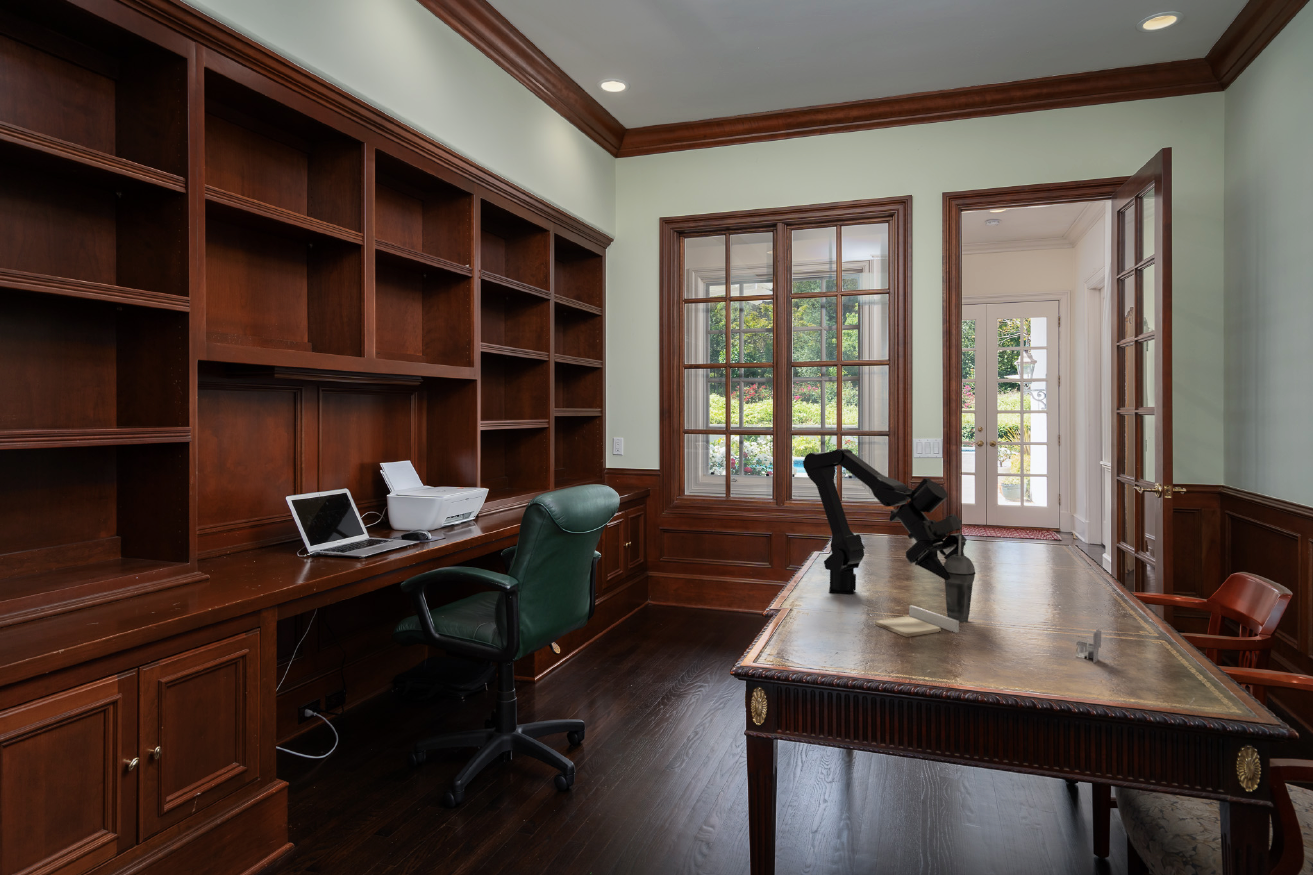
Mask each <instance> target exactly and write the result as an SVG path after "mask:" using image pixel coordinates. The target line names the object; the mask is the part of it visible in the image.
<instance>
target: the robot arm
mask: <svg viewBox="0 0 1313 875" xmlns="http://www.w3.org/2000/svg"><path fill="white" fill-rule="evenodd" d="M802 465H803V468H804V470H805V474H806V475H807V477H808V479H810V481H812V482H813V484H815V486H816V488H817V491H818V494H819V498H820V501H821V504H822V507H823V510H824V513H825V516H826V519H827V522H828V525H829V528H830V532H831V535H832V536H831V542H830V551H831V554H830V555H829V556H828V557H826V559H824V561H823V564H824V569H825V570H828V571H829V589H828V593H832V594H833V593H835V594H848V595H854V594H855V592H856V591H857V590H856V589H857V575H856V573H855V572H854V571H855V569H858V568H859V566H860V564H861V562H862V561H863V559H864V557H865V551H864V550H865V549H866V546H865V545H864V544H863V541H862V537H861V535H860V534H859V533H858V534H854V533H853V532H852V530H851V528H850V526H849V522H848V520H847V517H846V514H845V511H844V508H843V505H842V502H841V499H840V496H839V493H838V489H837V486H836V483H835V475H836V467H838V466H841V467H842V468H843V469H844V470H846V471H847V472H849V473H850V474H851V475H853V476H854V477H855V478H856V479H858V481H860V482H862V483H863V484H865V485H866V486H867V487H868V488H869V489H870V490H871V493H872V495H873V496H874V498H876V500H877V501H878V502H879V503H880V504H881V505H883V506H884V507H895V506H899V507H898V508H897V509H894V510H892V509H891V510H890V516H889V522H895V521H896V522H897V521H899V522H900V523H901V525H903V527H904V529H906V531H907V532H908V535H907V537H908V539H910V540H911V539H914V541H915V543H914V544H912V545H911V547H909V548H908V549H907V550H906V551H905V558H906V560H907V561H908V563H909V564H914V565H915V566H919V567H921V568H922V569H924V570H926V571H928V572H931V573H932V574H934V575H936V576H938V577H939V578H941V579H943V580H944V579H945V580H949V579H950V576H949V574H948V572H947V571H946V569H945V568H944V564H942V562H941V560H940V558H939V556H938V552H939V553H940V554H941V555H942V556H944V557H943V558H944V559H945V561H946V560H947V559H948V558H949V557H950V556H952V555H955V554H958V547H959V535H961V555H964V556H965V552H964V549H965V546H966V542H967V538H966V537H965V535H964V534H963V533H960V532H957V533H952V534H951V532H955V531H960V530H962V527H961V525H962V519H961V518H959V516H957V515H956V514H954V513H953V514H950V515H947V516H945V518H944V519H942V520H939V521H936V520H935V519H930V518H928V517H927V516H926V514H925V513H932V512H934V510H935V509H937V507H939V505H941V504H942V503H943V502H944V501H945V500H947V498H948V492H947V491H946V489H945V488H944V487H943V486H941V485H940V484H939V483H937V482H935V481H933V480H931V479H930V477H924V478H923V479H922V480H921V481H920V483H919V484H918V485H917V486H915V488H914V489H913V488H909V487H908V486H907V485H906V484H905V483H903V482H902V481H899V480H897V479H895V478H892V477H889V476H886V475H884V474H882V473H880V472H879V471H878V470H877V469H875V468H874V467H872V466H871V465H869V463H867V462H865V461H864V460H863V459H862V458H860V457H859V456H857V454H854V453H853V451H852V450H850V448H837V449H833V450H831V451H826V452H824V451H823V452H810V453H808V454H806V455H805V457H804V458H803V461H802ZM948 533H950V534H948ZM945 580H944V581H945Z"/></svg>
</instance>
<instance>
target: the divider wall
mask: <svg viewBox="0 0 1313 875" xmlns="http://www.w3.org/2000/svg"><path fill="white" fill-rule="evenodd" d="M908 616H909V617H912V618H915V619H918V620H920V621H923V622H926V623H929V624H932V625H934V626H937V627H940V628H941V629H944V630H947V631H949V632H952V631H953V633H956V634H957V633H959V631H960V623H959V621H957V620H954V619H951V618H949V617H948V616H945V615H942V614H939V613H937V612H934V611H930V610H927V609H924V608H921V607H919V606H915V605H909V611H908Z"/></svg>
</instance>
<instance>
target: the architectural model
mask: <svg viewBox="0 0 1313 875" xmlns="http://www.w3.org/2000/svg"><path fill="white" fill-rule="evenodd" d="M1075 637H1076V638H1075V639H1076V640H1075V642H1076V644H1075V646H1077V648H1076V650H1075V657H1076V656H1077V657H1078V658H1081V659H1085V658H1086V659H1087V660H1089V658H1090V659H1093V662H1092V663H1093V664H1096V663H1097V661H1099V650H1100V649H1101V648H1102V630H1100V628H1096V630H1095V631H1093V641H1092V643H1090V641H1089V637H1084V636H1082V638H1081V636H1080V635H1076V636H1075ZM1079 638H1080V639H1079ZM1083 639H1085V641H1083Z"/></svg>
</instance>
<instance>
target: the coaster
mask: <svg viewBox="0 0 1313 875" xmlns="http://www.w3.org/2000/svg"><path fill="white" fill-rule="evenodd" d="M874 625H875V626H878V627H881V628H883V629H886V630H888V631H890V632H894V633H895V634H899V635H901V636H904V637H906V638H910V637H914V636H922V635H927V634H932V633H933V634H934V633H938V632H939V631H940V632H941V631H942V628H941V627H938V626H936V625H933V624H930V623H927V622H924V621H922V620H919V619H916V618H913V617H911V616H909V615H905V616H900V617H892V618H887V619H886V618H885V619H880V620H874Z"/></svg>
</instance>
